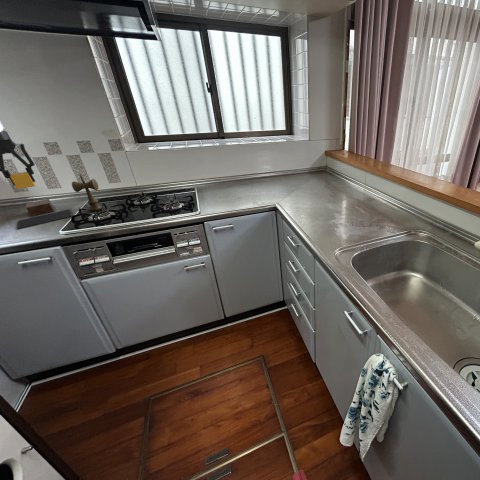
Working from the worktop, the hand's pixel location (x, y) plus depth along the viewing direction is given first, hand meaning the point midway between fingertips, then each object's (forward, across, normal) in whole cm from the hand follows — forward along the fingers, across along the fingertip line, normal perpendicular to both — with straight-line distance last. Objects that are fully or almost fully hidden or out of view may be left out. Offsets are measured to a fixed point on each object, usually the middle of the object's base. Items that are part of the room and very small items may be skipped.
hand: (24, 182), depth 128 cm
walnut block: (+19, -1, +13) cm, 23 cm away
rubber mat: (+19, 0, -1) cm, 19 cm away
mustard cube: (+2, 0, 0) cm, 2 cm away
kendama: (+19, +21, -5) cm, 29 cm away
